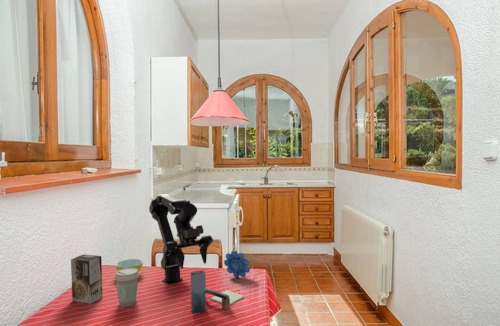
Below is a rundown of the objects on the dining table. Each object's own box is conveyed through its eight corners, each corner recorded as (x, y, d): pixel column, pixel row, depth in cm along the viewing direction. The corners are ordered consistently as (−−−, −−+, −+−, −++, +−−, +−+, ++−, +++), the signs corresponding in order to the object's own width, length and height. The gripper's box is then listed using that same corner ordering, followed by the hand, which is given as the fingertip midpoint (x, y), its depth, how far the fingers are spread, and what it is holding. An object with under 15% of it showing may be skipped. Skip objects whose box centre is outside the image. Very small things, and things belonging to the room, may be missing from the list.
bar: (198, 290, 124) (198, 287, 124) (201, 289, 125) (201, 286, 125) (226, 299, 115) (226, 296, 115) (228, 298, 116) (228, 295, 116)
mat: (210, 299, 124) (210, 298, 124) (226, 291, 131) (226, 290, 131) (228, 305, 118) (228, 304, 118) (244, 297, 125) (244, 295, 125)
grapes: (221, 280, 142) (221, 253, 142) (225, 274, 149) (225, 248, 149) (248, 282, 140) (247, 254, 140) (250, 276, 147) (250, 249, 146)
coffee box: (103, 297, 127) (102, 255, 127) (90, 304, 121) (89, 260, 120) (85, 294, 130) (84, 253, 130) (71, 301, 124) (70, 258, 123)
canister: (188, 310, 115) (187, 273, 115) (198, 305, 119) (198, 269, 119) (198, 315, 112) (197, 277, 111) (209, 309, 116) (208, 272, 116)
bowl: (134, 282, 142) (134, 267, 142) (110, 280, 144) (110, 266, 144) (147, 272, 153) (147, 259, 153) (125, 271, 155) (125, 258, 155)
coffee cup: (115, 300, 123) (114, 269, 123) (138, 296, 127) (138, 266, 126) (115, 310, 116) (114, 277, 115) (140, 306, 119) (140, 273, 119)
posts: (198, 299, 123) (198, 290, 123) (202, 297, 125) (202, 288, 125) (226, 310, 115) (225, 300, 115) (229, 308, 116) (229, 298, 116)
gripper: (166, 221, 119) (176, 262, 112) (212, 215, 130) (224, 252, 122) (158, 235, 127) (167, 274, 120) (202, 228, 137) (213, 264, 130)
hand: (194, 265), depth 123 cm, fingers open, 9 cm apart
